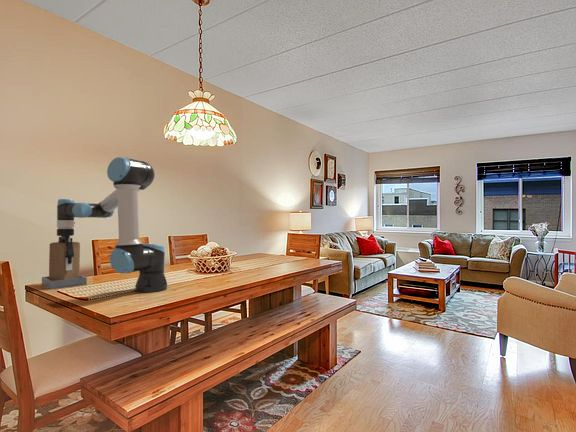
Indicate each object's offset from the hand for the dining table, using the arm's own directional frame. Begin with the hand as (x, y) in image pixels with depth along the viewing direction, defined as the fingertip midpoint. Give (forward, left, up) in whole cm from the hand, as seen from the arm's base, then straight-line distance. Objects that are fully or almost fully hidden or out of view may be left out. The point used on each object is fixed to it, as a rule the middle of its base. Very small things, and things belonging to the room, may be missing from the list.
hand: (64, 268), depth 173 cm
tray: (0, 0, -9) cm, 9 cm away
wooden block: (0, 0, -6) cm, 6 cm away
